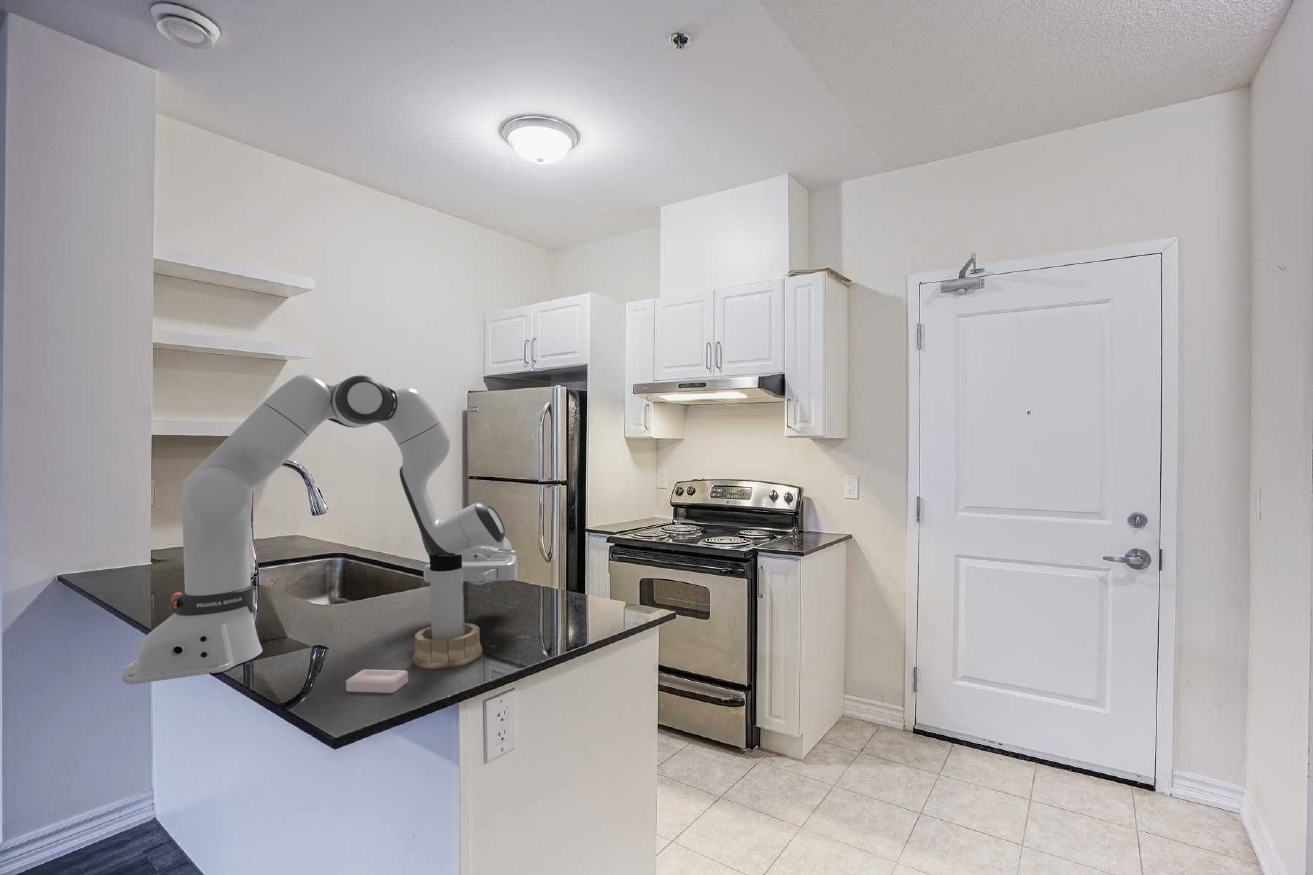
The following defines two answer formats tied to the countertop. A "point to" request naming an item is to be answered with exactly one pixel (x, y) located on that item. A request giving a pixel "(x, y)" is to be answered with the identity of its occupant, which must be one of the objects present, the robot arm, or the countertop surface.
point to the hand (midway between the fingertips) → (460, 578)
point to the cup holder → (447, 649)
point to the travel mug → (446, 595)
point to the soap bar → (377, 681)
